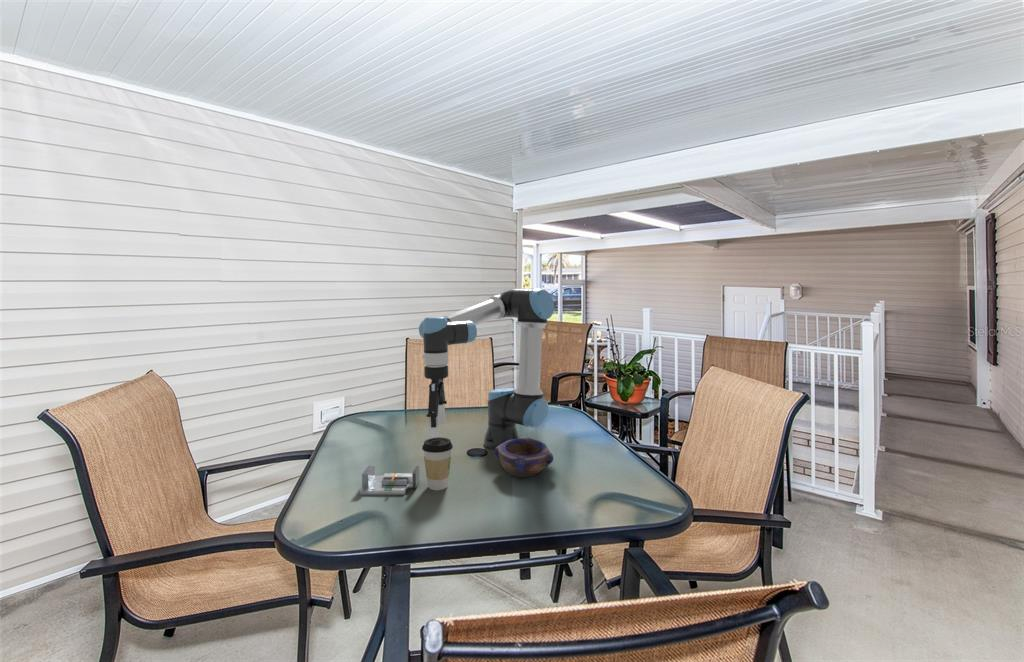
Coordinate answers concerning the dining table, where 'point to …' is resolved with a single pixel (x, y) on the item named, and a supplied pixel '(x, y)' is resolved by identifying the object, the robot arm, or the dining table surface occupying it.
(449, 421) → the dining table surface
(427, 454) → the coffee cup
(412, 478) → the plunger
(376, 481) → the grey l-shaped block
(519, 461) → the bowl
